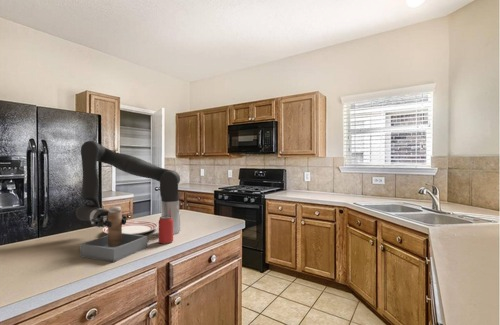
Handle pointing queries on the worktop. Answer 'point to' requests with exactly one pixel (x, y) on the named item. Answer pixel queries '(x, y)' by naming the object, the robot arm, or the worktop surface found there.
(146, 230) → the dinner plate
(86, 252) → the bin
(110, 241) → the pepper mill
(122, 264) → the worktop surface
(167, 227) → the beer can
